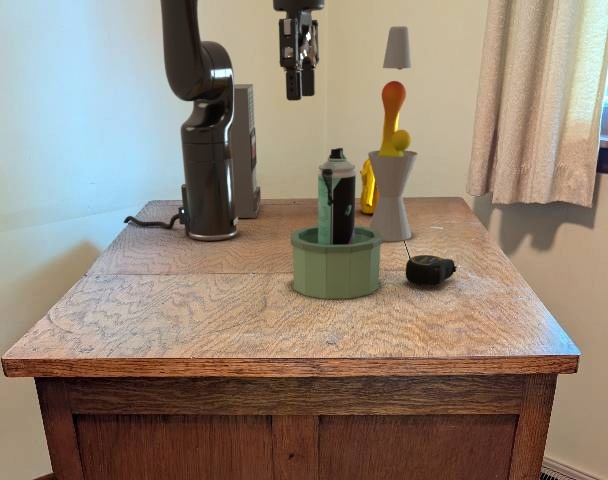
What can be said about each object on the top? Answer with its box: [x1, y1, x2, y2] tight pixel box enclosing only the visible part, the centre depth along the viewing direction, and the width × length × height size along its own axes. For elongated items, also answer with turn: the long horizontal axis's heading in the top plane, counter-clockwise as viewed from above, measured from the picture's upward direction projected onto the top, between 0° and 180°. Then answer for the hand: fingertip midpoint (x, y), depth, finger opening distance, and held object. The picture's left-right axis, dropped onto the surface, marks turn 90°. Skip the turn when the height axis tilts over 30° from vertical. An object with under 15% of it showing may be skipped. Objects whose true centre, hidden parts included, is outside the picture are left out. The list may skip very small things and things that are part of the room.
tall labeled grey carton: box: [231, 83, 262, 220], centre depth 153 cm, size 14×6×25 cm, turn 179°
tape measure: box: [405, 254, 458, 286], centre depth 112 cm, size 7×7×4 cm
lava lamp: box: [367, 25, 418, 242], centre depth 130 cm, size 9×9×35 cm
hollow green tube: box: [290, 225, 384, 300], centre depth 111 cm, size 14×14×8 cm
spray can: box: [317, 147, 357, 245], centre depth 107 cm, size 6×6×20 cm
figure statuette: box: [359, 113, 400, 214], centre depth 152 cm, size 18×8×22 cm, turn 175°
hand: (301, 98), depth 110 cm, fingers open, 8 cm apart
